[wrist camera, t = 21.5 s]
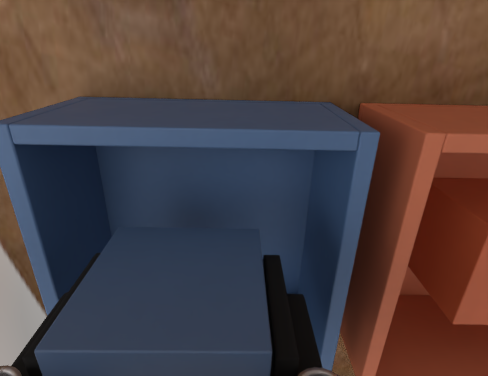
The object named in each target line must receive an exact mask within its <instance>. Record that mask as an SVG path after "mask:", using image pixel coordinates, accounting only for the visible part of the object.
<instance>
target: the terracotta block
mask: <svg viewBox="0 0 488 376" xmlns="http://www.w3.org/2000/svg"><path fill="white" fill-rule="evenodd" d="M408 267H409V268H410V270H411V271H412V272H413V273H414V275H415V276H416V277H417V279H418V280H419V281H420V283H421V284H422V285H423V286H424V288H425V289H426V290H427V292H428V293H429V294H430V296H431V297H432V298H433V300H434V301H435V302H436V303H437V305H438V306H439V307H440V309H441V310H442V311H443V313H444V314H445V315H446V316H447V318H448V319H449V320H450V322H451V323H452V324H471V325H488V179H487V178H433V181H432V184H431V188H430V191H429V194H428V198H427V201H426V205H425V208H424V211H423V215H422V218H421V222H420V225H419V229H418V232H417V235H416V239H415V242H414V246H413V249H412V252H411V256H410V259H409V263H408Z"/></svg>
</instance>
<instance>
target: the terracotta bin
mask: <svg viewBox="0 0 488 376" xmlns="http://www.w3.org/2000/svg"><path fill="white" fill-rule="evenodd" d="M358 119H359V120H360V121H362V122H364V123H365V124H367V125H369V126H370V127H372V128H374V129H375V130H377V131H379V132H380V137H379V142H378V147H377V152H376V157H375V162H374V167H373V172H372V176H371V181H370V186H369V191H368V196H367V201H366V206H365V211H364V216H363V220H362V225H361V230H360V235H359V240H358V245H357V250H356V255H355V259H354V264H353V269H352V274H351V279H350V284H349V289H348V294H347V299H346V303H345V308H344V313H343V318H342V323H341V328H340V333H341V336H342V338H343V341H344V344H345V347H346V350H347V353H348V356H349V358H350V361H351V364H352V367H353V370H354V373H355V376H488V325H471V324H452V323H451V322H450V320H449V319H448V318H447V316H446V315H445V314H444V313H443V311H442V310H441V309H440V307H439V306H438V305H437V303H436V302H435V301H434V300H433V298H432V297H431V296H430V294H429V293H428V292H427V290H426V289H425V288H424V286H423V285H422V284H421V283H420V281H419V280H418V279H417V277H416V276H415V275H414V273H413V272H412V271H411V270H410V268H409V267H408V263H409V259H410V256H411V252H412V249H413V246H414V242H415V239H416V235H417V232H418V229H419V225H420V222H421V218H422V215H423V211H424V208H425V205H426V201H427V198H428V194H429V191H430V188H431V184H432V181H433V178H487V179H488V106H475V105H430V104H384V103H361V104H360V108H359V114H358Z"/></svg>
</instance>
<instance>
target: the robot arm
mask: <svg viewBox="0 0 488 376" xmlns="http://www.w3.org/2000/svg"><path fill="white" fill-rule="evenodd" d="M100 254H101V253H96V254H95V255H94V256H93V258H92V259H91V261H90V262H89V263H88V265H87V266H86V268H85V269H84V271H83V272H82V273H81V275H80V276H79V278H78V279H77V280H76V282H75V283H74V285H73V286H72V287H71V289H70V290H69V292H66V293H65V294H64V295H63V296H62V297H61V298H60V299H59V301H58V302H57V303H56V305H55V306H54V308H53V309H52V310H51V312H50V313H49V315H48V316H47V317H46V319H45V320H44V321H43V323H42V324H41V326H40V327H39V328H38V330H37V331H36V333H35V334H34V335H33V337H32V338H31V339H30V341H29V342H28V344H27V345H26V347H25V348H24V349H23V351H22V352H21V353H20V355H19V356H18V357H17V359H16V360H15V362H14V363H13V364H12V366H0V376H43V375H42V373H41V370H40V367H39V364H38V362H37V359H36V356H35V353H34V351H35V349H36V347H37V346H38V344H39V343H40V341H41V340H42V338H43V337H44V335H45V334H46V333H47V331H48V330H49V328H50V327H51V325H52V324H53V322H54V321H55V319H56V318H57V316H58V315H59V314H60V312H61V311H62V309H63V308H64V306H65V305H66V303H67V302H68V300H69V299H70V297H71V296H72V295H73V293H74V292H75V290H76V289H77V287H78V286H79V284H80V283H81V281H82V280H83V278H84V277H85V276H86V274H87V273H88V271H89V270H90V268H91V267H92V265H93V264H94V262H95V261H96V260H97V258H98V257H99V255H100ZM262 260H263V269H264V278H265V288H266V297H267V307H268V316H269V326H270V335H271V345H272V362H271V373H270V376H338V375H337V374H335V373H334V372H332V371H330V370H327V369H325V368H323V367H322V363H321V359H320V356H319V352H318V348H317V344H316V340H315V336H314V332H313V328H312V324H311V321H310V317H309V313H308V309H307V305H306V301H305V298H304V295H303V294H287V291H286V286H285V281H284V275H283V270H282V265H281V260H280V255H264V256H263V259H262Z"/></svg>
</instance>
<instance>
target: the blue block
mask: <svg viewBox="0 0 488 376" xmlns="http://www.w3.org/2000/svg"><path fill="white" fill-rule="evenodd" d="M34 353H35V356H36V359H37V362H38V364H39V367H40V370H41V373H42V375H43V376H270V373H271V362H272V345H271V335H270V326H269V316H268V307H267V297H266V288H265V278H264V269H263V260H262V250H261V241H260V231H259V229H242V228H169V227H118V229H117V230H116V232H115V233H114V235H113V236H112V238H111V239H110V241H109V242H108V243H107V245H106V246H105V248H104V249H103V251H102V252H101V254H100V255H99V257H98V258H97V260H96V261H95V262H94V264H93V265H92V267H91V268H90V270H89V271H88V273H87V274H86V276H85V277H84V278H83V280H82V281H81V283H80V284H79V286H78V287H77V289H76V290H75V292H74V293H73V295H72V296H71V297H70V299H69V300H68V302H67V303H66V305H65V306H64V308H63V309H62V311H61V312H60V314H59V315H58V316H57V318H56V319H55V321H54V322H53V324H52V325H51V327H50V328H49V330H48V331H47V333H46V334H45V335H44V337H43V338H42V340H41V341H40V343H39V344H38V346H37V347H36V349H35V351H34Z"/></svg>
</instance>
